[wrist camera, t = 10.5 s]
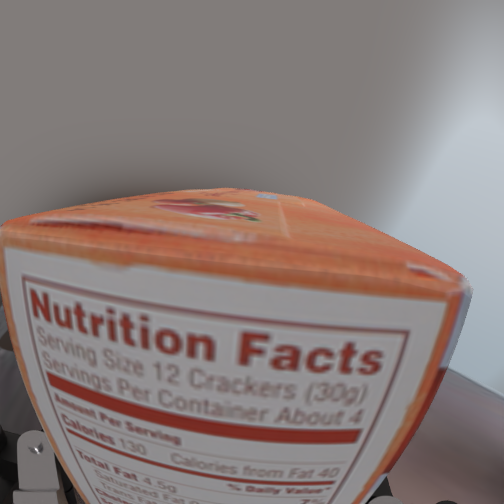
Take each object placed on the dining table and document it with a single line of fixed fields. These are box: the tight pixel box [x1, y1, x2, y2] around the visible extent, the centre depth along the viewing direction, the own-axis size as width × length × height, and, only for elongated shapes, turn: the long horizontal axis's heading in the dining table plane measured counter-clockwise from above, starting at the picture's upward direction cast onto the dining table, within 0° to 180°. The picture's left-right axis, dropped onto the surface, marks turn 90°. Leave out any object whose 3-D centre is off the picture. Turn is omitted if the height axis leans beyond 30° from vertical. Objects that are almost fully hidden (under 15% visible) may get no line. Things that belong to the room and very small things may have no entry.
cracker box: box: [0, 188, 473, 504], centre depth 11 cm, size 14×6×21 cm, turn 175°
